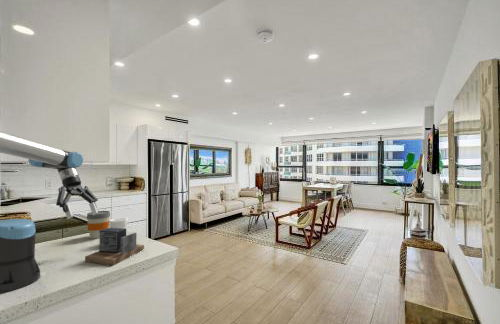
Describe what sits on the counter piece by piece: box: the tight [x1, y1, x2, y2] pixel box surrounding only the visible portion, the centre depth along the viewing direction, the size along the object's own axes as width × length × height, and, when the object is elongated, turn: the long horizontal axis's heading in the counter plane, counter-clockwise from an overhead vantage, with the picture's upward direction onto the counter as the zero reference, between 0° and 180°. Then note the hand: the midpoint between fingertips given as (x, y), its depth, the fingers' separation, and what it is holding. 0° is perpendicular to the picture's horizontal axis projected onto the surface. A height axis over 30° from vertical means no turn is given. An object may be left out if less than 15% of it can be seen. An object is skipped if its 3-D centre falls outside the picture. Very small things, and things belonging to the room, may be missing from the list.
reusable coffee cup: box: [86, 210, 111, 239], centre depth 148 cm, size 12×13×15 cm
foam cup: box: [109, 217, 129, 231], centre depth 137 cm, size 10×9×13 cm
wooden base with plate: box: [84, 232, 145, 266], centre depth 116 cm, size 20×16×10 cm
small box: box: [98, 227, 127, 253], centre depth 116 cm, size 11×6×10 cm, turn 79°
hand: (83, 216), depth 117 cm, fingers open, 13 cm apart
